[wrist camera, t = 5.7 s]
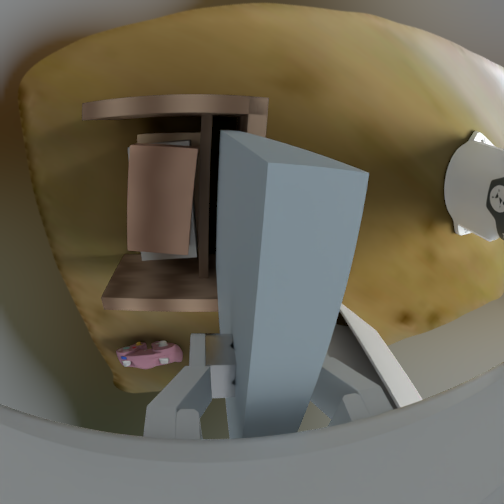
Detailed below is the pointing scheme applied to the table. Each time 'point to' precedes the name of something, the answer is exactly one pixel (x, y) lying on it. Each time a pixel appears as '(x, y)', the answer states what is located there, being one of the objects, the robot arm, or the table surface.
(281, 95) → the table surface
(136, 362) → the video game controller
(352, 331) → the brochure
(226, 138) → the sheet
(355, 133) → the table surface
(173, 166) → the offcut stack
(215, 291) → the rack
